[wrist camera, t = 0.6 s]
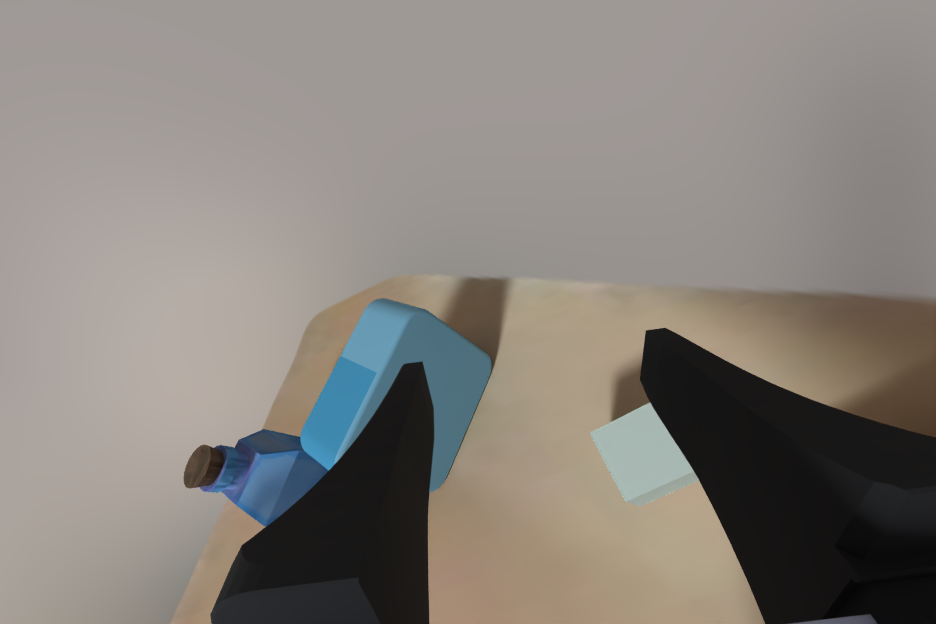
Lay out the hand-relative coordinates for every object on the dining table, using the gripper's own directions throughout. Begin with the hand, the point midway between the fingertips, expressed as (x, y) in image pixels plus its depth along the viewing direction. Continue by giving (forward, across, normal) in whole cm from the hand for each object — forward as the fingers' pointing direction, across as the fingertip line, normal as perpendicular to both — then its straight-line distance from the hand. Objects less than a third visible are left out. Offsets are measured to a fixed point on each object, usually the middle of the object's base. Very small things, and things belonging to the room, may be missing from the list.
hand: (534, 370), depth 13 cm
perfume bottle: (+16, +19, +24) cm, 35 cm away
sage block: (+6, -8, +14) cm, 18 cm away
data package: (+16, +5, +17) cm, 24 cm away
